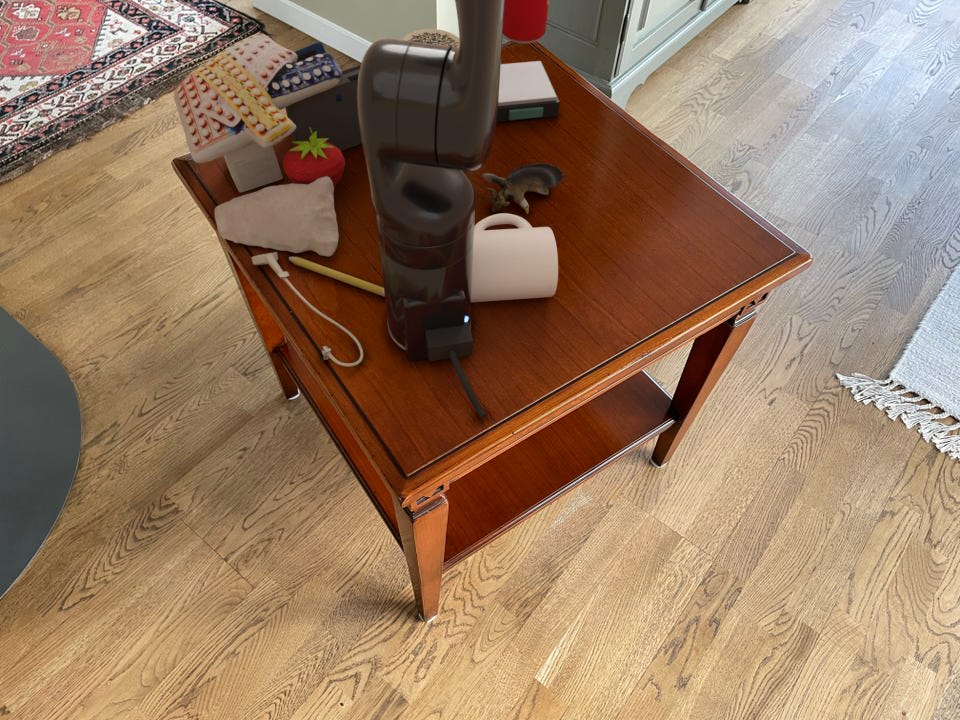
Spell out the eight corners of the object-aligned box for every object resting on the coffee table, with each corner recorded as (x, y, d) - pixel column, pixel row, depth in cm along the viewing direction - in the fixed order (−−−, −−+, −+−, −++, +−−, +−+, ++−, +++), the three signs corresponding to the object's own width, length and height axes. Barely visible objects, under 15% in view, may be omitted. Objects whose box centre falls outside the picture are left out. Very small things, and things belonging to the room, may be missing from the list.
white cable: (364, 376, 79) (289, 251, 87) (370, 358, 76) (292, 231, 84) (321, 391, 76) (246, 260, 84) (325, 373, 74) (248, 240, 81)
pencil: (287, 256, 85) (286, 250, 84) (391, 293, 82) (390, 288, 82) (283, 261, 85) (281, 256, 84) (387, 299, 82) (386, 294, 81)
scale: (558, 118, 103) (561, 100, 100) (492, 125, 101) (493, 106, 99) (540, 76, 109) (542, 58, 106) (477, 82, 107) (477, 64, 105)
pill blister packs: (361, 90, 88) (279, 31, 92) (352, 56, 83) (265, -5, 86) (236, 202, 83) (154, 134, 86) (218, 173, 78) (131, 102, 81)
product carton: (284, 179, 93) (270, 133, 87) (239, 194, 91) (222, 148, 85) (270, 152, 96) (255, 105, 90) (226, 165, 94) (208, 119, 88)
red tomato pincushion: (290, 184, 92) (274, 119, 84) (347, 179, 93) (338, 113, 85) (291, 215, 89) (276, 151, 81) (351, 209, 90) (342, 145, 82)
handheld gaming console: (437, 102, 104) (436, 38, 95) (447, 112, 102) (447, 48, 94) (294, 155, 96) (279, 89, 87) (302, 166, 94) (289, 100, 86)
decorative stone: (339, 181, 87) (219, 188, 87) (332, 171, 83) (205, 179, 83) (344, 259, 87) (223, 266, 87) (336, 254, 83) (209, 261, 83)
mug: (552, 310, 82) (562, 263, 75) (467, 317, 81) (469, 269, 74) (535, 237, 89) (542, 188, 82) (456, 242, 88) (457, 192, 81)
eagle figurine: (520, 231, 87) (574, 192, 89) (496, 181, 84) (552, 141, 86) (491, 224, 94) (541, 188, 96) (467, 177, 90) (520, 140, 92)
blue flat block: (344, 100, 90) (338, 102, 90) (311, 106, 102) (307, 108, 101) (322, 40, 87) (316, 42, 87) (291, 53, 99) (286, 55, 98)
